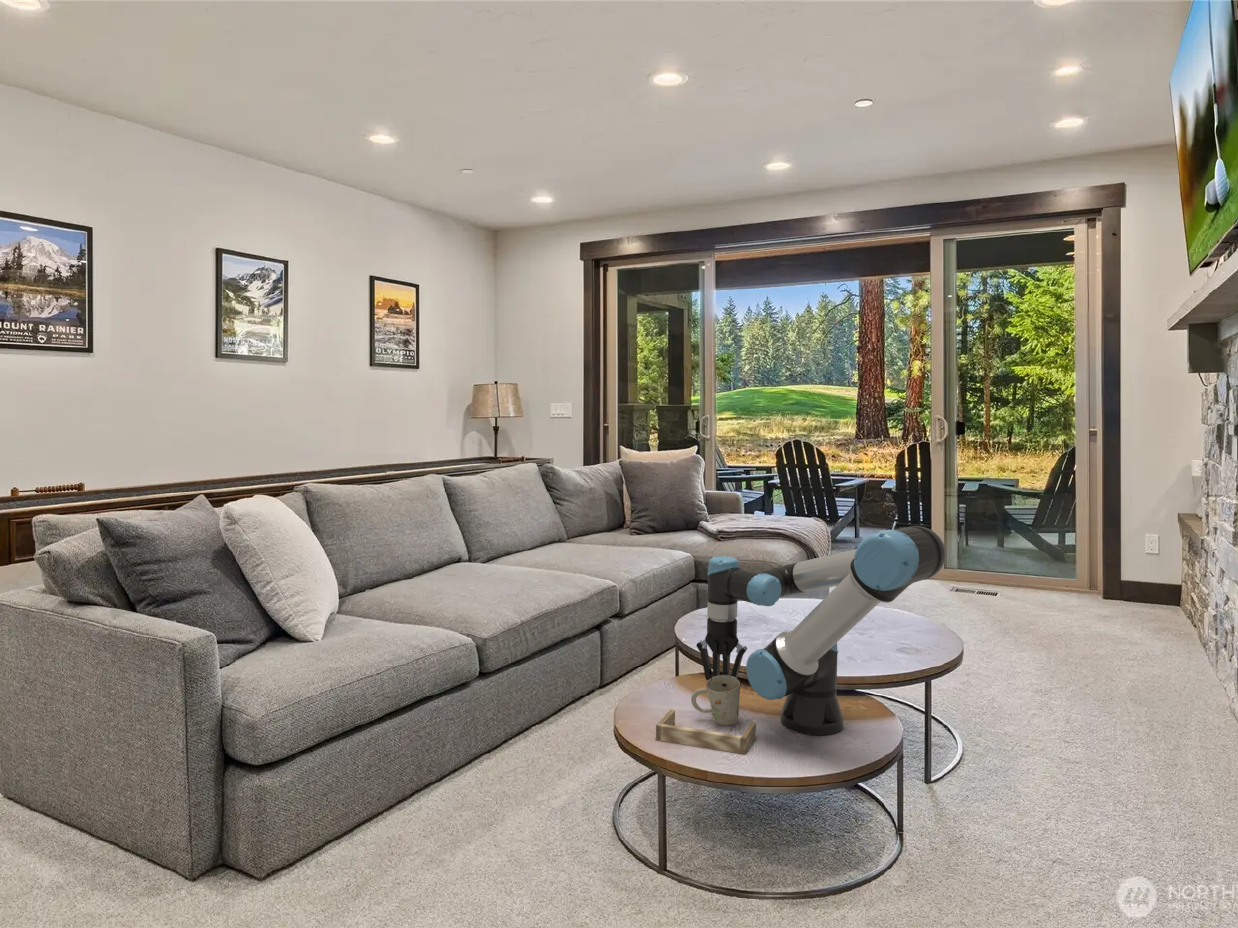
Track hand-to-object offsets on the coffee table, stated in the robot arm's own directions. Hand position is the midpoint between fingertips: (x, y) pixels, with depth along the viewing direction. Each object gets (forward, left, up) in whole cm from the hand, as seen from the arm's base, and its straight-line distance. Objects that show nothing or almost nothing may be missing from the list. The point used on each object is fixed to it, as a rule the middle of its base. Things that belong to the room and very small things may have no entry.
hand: (720, 708), depth 207 cm
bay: (0, +15, -2) cm, 15 cm away
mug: (0, +4, -2) cm, 4 cm away
